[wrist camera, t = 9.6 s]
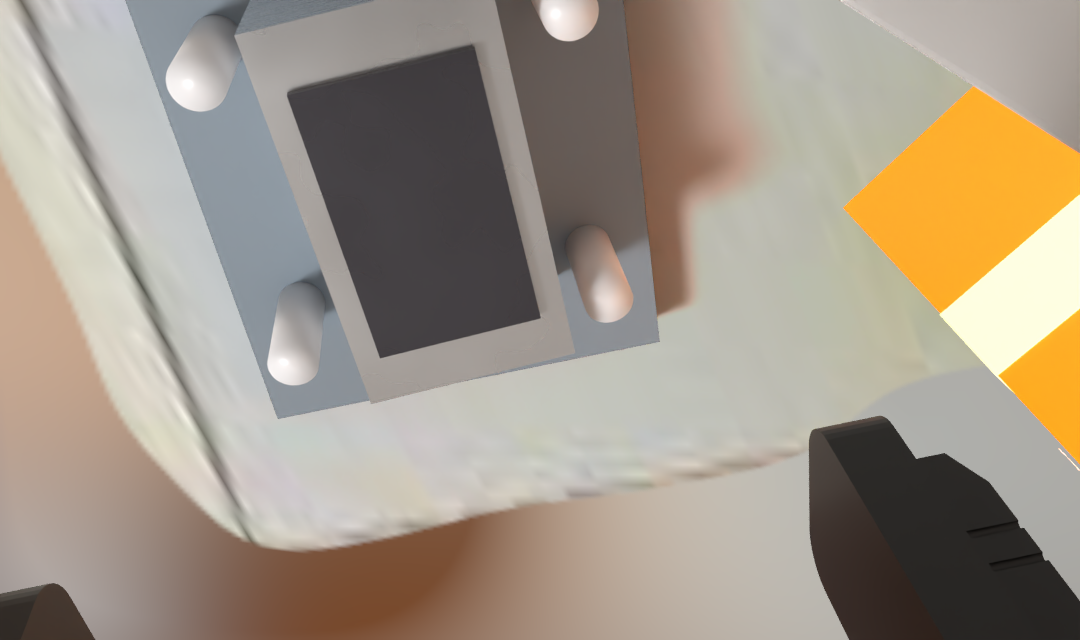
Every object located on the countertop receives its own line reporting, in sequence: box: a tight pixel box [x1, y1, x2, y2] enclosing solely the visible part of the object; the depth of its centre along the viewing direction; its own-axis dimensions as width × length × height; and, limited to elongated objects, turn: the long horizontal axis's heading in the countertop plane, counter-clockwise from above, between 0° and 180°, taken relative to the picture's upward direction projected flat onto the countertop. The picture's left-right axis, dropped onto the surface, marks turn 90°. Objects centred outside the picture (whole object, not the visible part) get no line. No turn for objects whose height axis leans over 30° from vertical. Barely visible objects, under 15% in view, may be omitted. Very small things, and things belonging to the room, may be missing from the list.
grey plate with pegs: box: [125, 0, 660, 419], centre depth 24 cm, size 14×11×4 cm
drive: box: [234, 0, 575, 404], centre depth 23 cm, size 9×5×4 cm, turn 12°
